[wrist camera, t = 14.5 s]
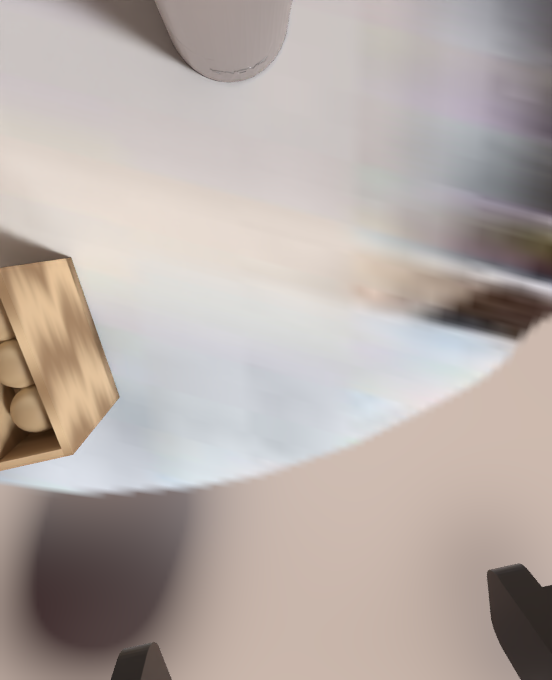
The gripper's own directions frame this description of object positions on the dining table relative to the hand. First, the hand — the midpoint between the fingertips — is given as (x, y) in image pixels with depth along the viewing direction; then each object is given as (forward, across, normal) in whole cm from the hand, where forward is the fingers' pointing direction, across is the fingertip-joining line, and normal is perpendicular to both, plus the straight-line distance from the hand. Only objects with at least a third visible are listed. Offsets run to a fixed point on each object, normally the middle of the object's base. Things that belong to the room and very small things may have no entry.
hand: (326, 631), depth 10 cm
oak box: (+28, +18, -4) cm, 34 cm away
